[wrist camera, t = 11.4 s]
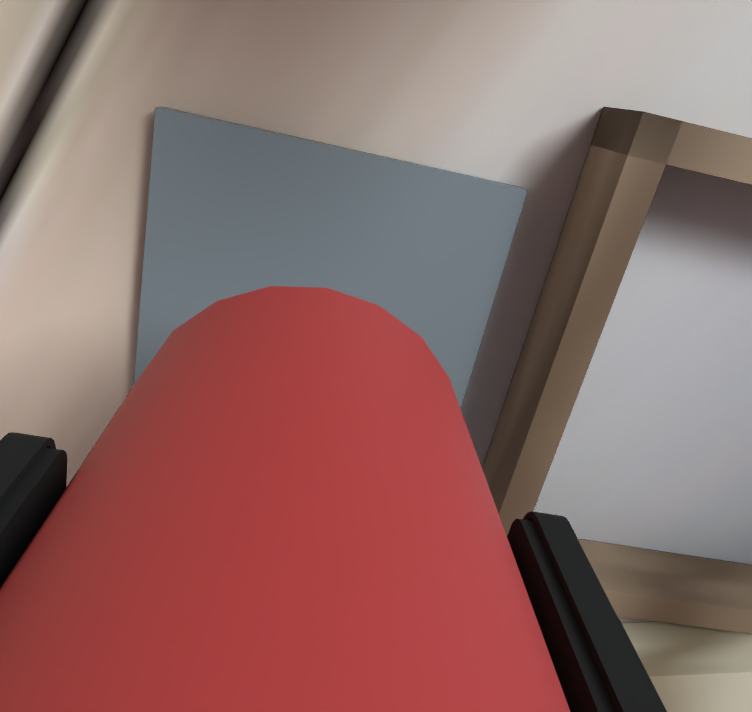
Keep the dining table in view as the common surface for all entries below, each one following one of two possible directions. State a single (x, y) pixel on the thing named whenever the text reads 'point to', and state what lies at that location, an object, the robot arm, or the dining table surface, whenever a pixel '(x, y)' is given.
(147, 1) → the dining table surface
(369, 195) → the slate pad
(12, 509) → the robot arm
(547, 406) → the slot rack
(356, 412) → the beer can
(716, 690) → the offcut upper
